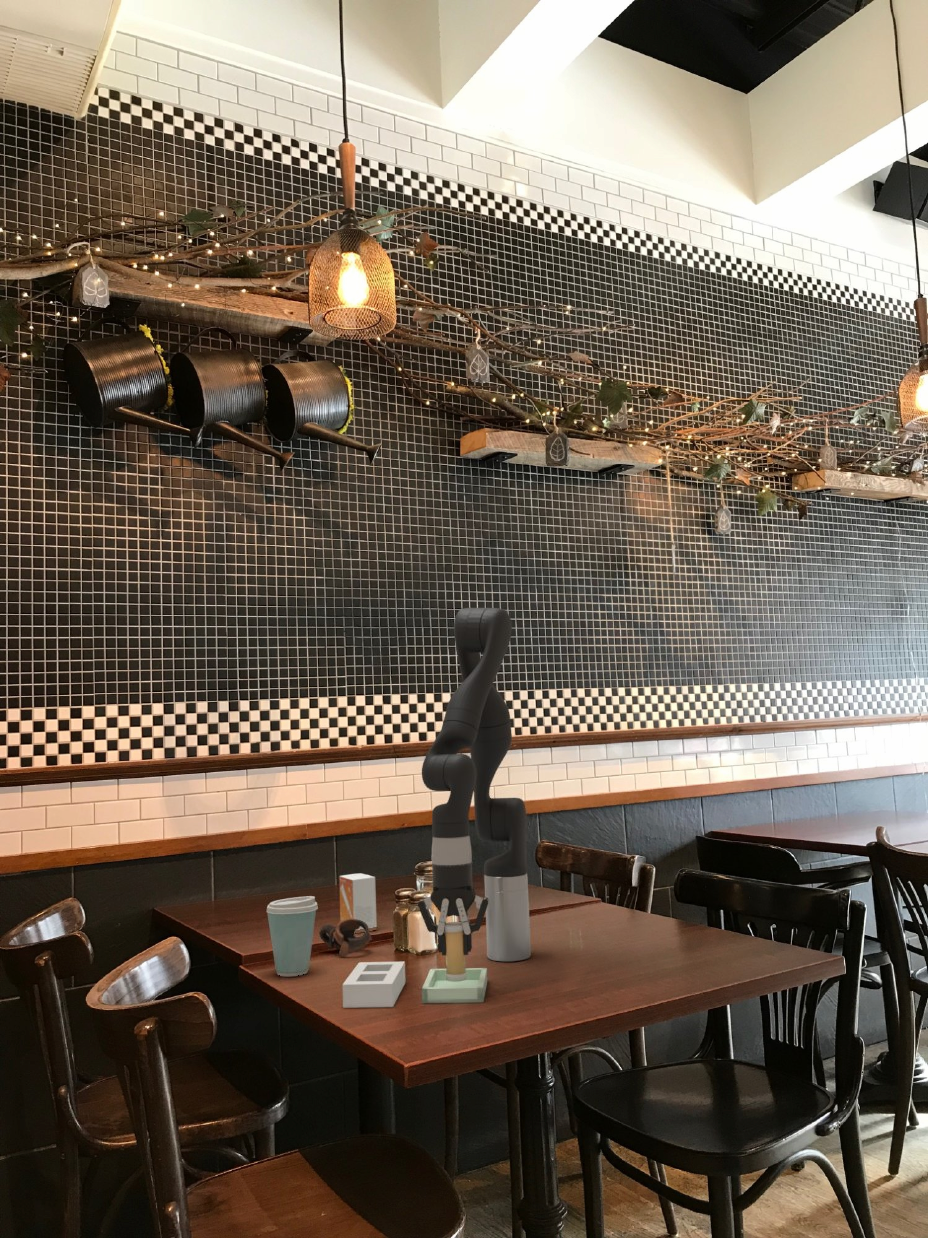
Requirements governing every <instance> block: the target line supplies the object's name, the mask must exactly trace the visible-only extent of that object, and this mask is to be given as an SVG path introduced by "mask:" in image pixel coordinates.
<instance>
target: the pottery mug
mask: <svg viewBox="0 0 928 1238" xmlns="http://www.w3.org/2000/svg"><path fill="white" fill-rule="evenodd" d="M360 926H361V927H362V928H363V929H364V930H365V933H363V934H362V935H361V936H359V937H357V936H355V935H354V933H355V930H356V929H359V927H360ZM318 935H319V937H320V939H321V941H323V943H324V944H326V945H327V947H328V948H329V949H330V950H332V949H334V947H335V950H336V951H338V950H339V952H338V955H339V956H340V957H342V958H346V957H347V956H348V954H352V953H355V952H357V951H359V950H362V949H365V947H366V946H367V945H369V943H370V941H373V938H372V936H371V934H370V932H369V928H368V925H367V924H366V923H365V922H363V921H361V920H358V919H352V918H350V919H344V920H342V921H340V920H339V922H338V923H337V925H336V926H334V925H331V924H324V925H323V926H321V927H320V929H319V931H318Z"/></svg>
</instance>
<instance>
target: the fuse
mask: <svg viewBox="0 0 928 1238" xmlns="http://www.w3.org/2000/svg"><path fill="white" fill-rule="evenodd" d="M444 931H445V945H446V956H445V969H446V980H447V981H451V982H458V981H464V980H466V970H465V968H466V955H464V939H463V935H464V929H463V925H462V922H461V921H451V922H450V921H449V922H446V923H445V927H444Z"/></svg>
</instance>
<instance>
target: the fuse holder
mask: <svg viewBox="0 0 928 1238" xmlns="http://www.w3.org/2000/svg"><path fill="white" fill-rule="evenodd" d="M405 985H406V962H405V961H371V962H370V961H369V962H368V961H366V962H364V961H363V962H362V961H360V962H358V963H357V964H356V966H355V967H354V969H353V970H352V971H351V972H350V974H349V975H348V976H347V978H346V979H345V981H344V982H343V983H342V1007H343V1009H344V1008H345V1009H346V1008H347V1009H348V1008H349V1009H350V1008H352V1009H354V1008H356V1009H357V1008H393V1007H394V1006H395V1004H396V1003H397V1000H398V998H399V995H401V992H402V990H403V988H404V986H405Z"/></svg>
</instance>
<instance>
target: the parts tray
mask: <svg viewBox="0 0 928 1238" xmlns="http://www.w3.org/2000/svg"><path fill="white" fill-rule="evenodd" d="M465 970H466V980H464V981H458V982H451V981H447V980H446V968H430V969H429V971H428V974H427V976H426V979H425V981H424V983H423V986H422V988H421V1004H451V1003H453V1004H458V1003H459V1004H461V1003H462V1004H463V1003H464V1004H467V1003H484V1000H485V996H486V991H487V987H488V980H489V979H488V967H474V968H473V967H469V968H466V967H465Z"/></svg>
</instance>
